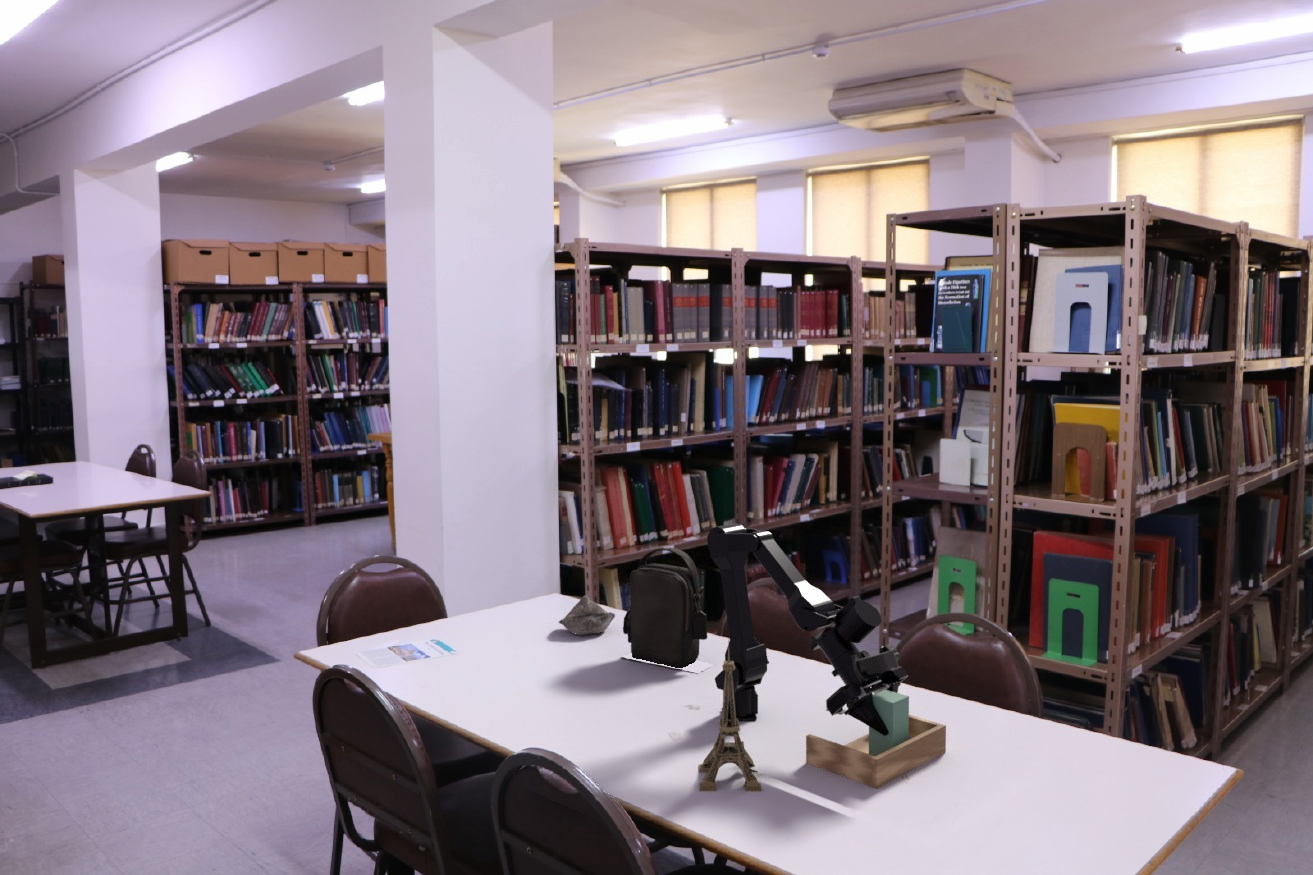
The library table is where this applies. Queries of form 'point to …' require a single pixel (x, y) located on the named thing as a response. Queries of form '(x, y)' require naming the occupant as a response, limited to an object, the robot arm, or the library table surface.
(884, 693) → the green block
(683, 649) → the shoulder bag
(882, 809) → the library table surface
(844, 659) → the robot arm
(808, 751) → the oak crate
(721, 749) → the eiffel tower
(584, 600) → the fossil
